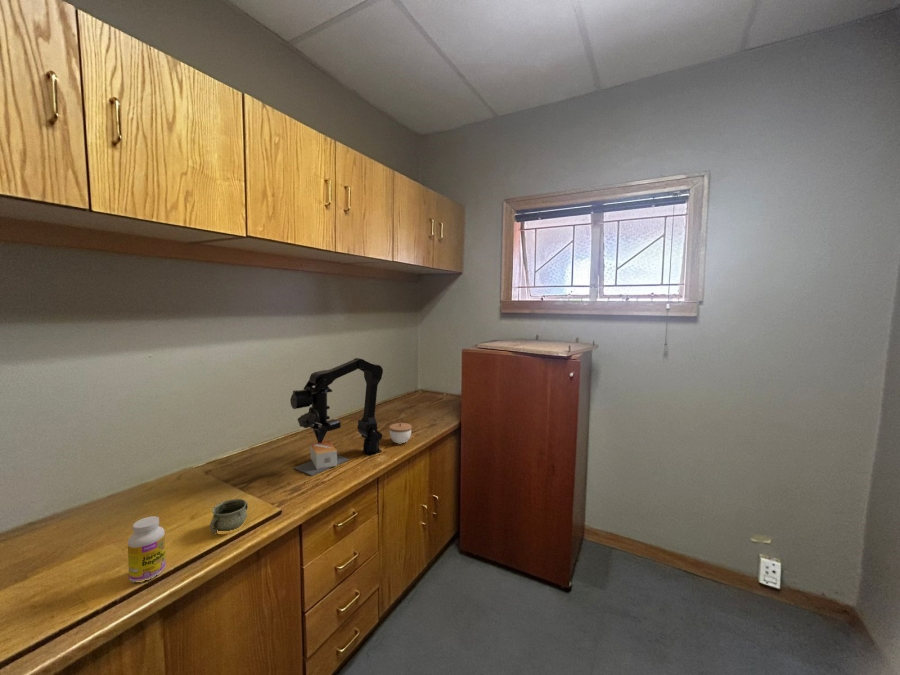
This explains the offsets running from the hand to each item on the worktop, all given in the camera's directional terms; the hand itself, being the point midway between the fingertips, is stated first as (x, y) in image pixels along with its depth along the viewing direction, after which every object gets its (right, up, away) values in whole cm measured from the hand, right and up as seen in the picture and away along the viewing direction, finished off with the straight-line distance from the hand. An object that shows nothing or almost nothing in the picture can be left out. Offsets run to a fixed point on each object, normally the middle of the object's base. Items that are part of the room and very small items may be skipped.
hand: (319, 442), depth 141 cm
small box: (+3, -7, 0) cm, 7 cm away
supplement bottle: (-20, -14, -57) cm, 62 cm away
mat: (-1, -10, +5) cm, 11 cm away
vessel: (-12, -13, -38) cm, 42 cm away
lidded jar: (+28, -9, +31) cm, 43 cm away
